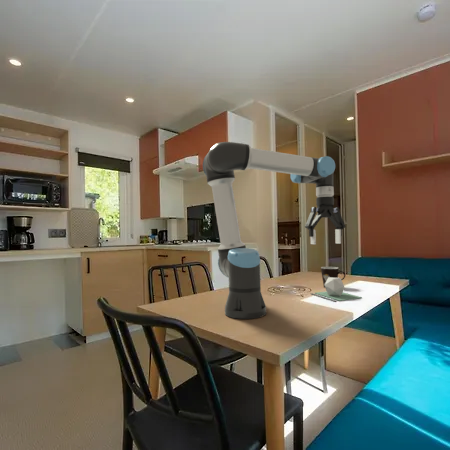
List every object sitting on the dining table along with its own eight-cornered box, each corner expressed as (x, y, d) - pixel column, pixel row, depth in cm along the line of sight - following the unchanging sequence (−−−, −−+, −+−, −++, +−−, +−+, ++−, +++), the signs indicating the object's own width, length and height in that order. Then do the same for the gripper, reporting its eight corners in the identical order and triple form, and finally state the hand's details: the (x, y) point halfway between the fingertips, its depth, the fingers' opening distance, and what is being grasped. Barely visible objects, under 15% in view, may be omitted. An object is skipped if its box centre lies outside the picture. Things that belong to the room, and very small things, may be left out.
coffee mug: (318, 286, 149) (317, 267, 149) (331, 285, 151) (331, 266, 151) (332, 290, 138) (331, 270, 138) (347, 289, 140) (346, 268, 140)
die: (346, 295, 128) (334, 277, 133) (351, 289, 121) (338, 270, 126) (330, 302, 127) (318, 284, 132) (334, 297, 120) (322, 277, 125)
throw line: (334, 301, 116) (334, 301, 116) (310, 294, 132) (310, 293, 132) (336, 301, 117) (336, 300, 117) (312, 293, 132) (312, 293, 132)
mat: (339, 301, 117) (339, 300, 117) (314, 293, 132) (314, 292, 132) (361, 298, 121) (361, 297, 121) (335, 291, 136) (335, 290, 136)
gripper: (306, 194, 121) (307, 244, 120) (353, 196, 129) (354, 243, 128) (296, 197, 128) (297, 244, 127) (341, 198, 136) (342, 243, 135)
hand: (325, 244), depth 128 cm, fingers open, 13 cm apart
